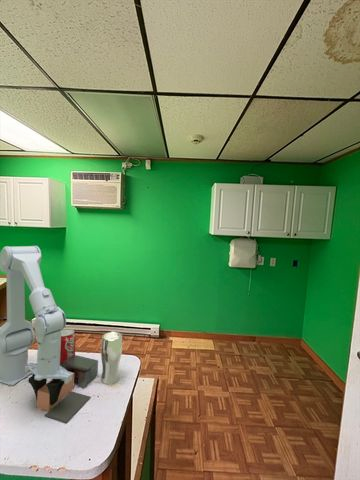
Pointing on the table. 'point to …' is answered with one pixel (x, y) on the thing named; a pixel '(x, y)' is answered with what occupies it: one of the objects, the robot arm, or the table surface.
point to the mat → (67, 407)
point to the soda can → (67, 344)
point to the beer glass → (111, 356)
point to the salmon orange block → (44, 396)
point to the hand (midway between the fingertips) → (47, 400)
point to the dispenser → (81, 369)
